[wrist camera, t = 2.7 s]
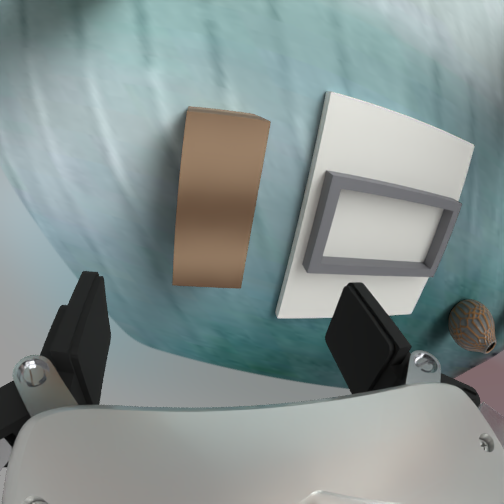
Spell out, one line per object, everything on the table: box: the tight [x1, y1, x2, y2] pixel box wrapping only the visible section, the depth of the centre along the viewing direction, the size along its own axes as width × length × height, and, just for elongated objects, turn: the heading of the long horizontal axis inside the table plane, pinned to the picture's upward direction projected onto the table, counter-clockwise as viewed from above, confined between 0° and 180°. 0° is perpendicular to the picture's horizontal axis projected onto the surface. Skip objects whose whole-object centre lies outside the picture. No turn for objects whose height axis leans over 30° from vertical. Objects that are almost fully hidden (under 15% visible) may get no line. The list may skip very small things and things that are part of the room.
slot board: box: [275, 91, 475, 318], centre depth 29 cm, size 22×18×2 cm
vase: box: [448, 299, 497, 354], centre depth 36 cm, size 7×7×9 cm
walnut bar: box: [173, 106, 271, 288], centre depth 23 cm, size 12×5×6 cm, turn 171°
